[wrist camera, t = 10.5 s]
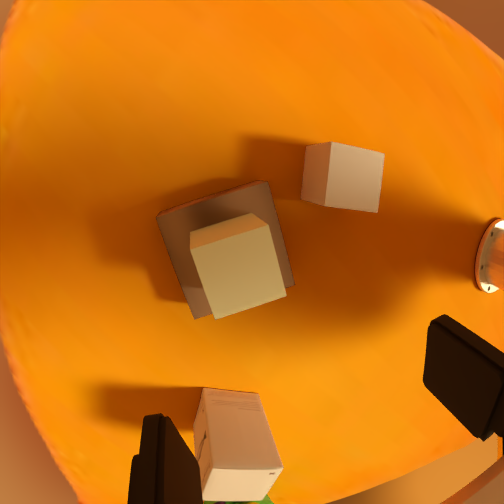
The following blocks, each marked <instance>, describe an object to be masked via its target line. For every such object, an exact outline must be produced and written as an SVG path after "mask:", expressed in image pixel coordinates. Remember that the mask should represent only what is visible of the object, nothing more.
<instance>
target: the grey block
mask: <svg viewBox="0 0 504 504" xmlns="http://www.w3.org/2000/svg"><path fill="white" fill-rule="evenodd" d="M383 165H384V153H380V152H376V151H372V150H367V149H363V148H359V147H354V146H350V145H345V144H341V143H336V142H326V143H320V144H314V145H308V146H306V152H305V162H304V171H303V180H302V189H301V198H300V199H301V200H305V201H308V202H312V203H315V204H319V205H322V206H327V207H335V208H344V209H352V210H359V211H367V212H374V213H378V207H379V199H380V191H381V183H382V174H383Z"/></svg>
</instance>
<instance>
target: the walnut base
mask: <svg viewBox="0 0 504 504" xmlns="http://www.w3.org/2000/svg"><path fill="white" fill-rule="evenodd" d="M249 213H253V214H254V215H255V216H257V217H258V218H260V219H261V220H262V221H264V222H265V223H267V224H268V225H269V229H270V233H271V236H272V240H273V244H274V248H275V252H276V256H277V260H278V264H279V267H280V271H281V275H282V279H283V283H284V287H285V288H288V287H291V286H293V285H295V282H294V278H293V274H292V270H291V266H290V262H289V259H288V255H287V251H286V247H285V243H284V239H283V235H282V232H281V228H280V224H279V220H278V217H277V213H276V209H275V206H274V202H273V198H272V195H271V191H270V187H269V184H268V182H267V181H261V180H258V181H255V182H251V183H248V184H245V185H241V186H238V187H235V188H232V189H228V190H225V191H222V192H219V193H216V194H213V195H209V196H206V197H203V198H200V199H197V200H194V201H191V202H188V203H185V204H182V205H179V206H176V207H173V208H171V209H168V210H165V211H162V212H160V213H159V214H158V216H157V217H156V219H157V222H158V225H159V228H160V231H161V234H162V237H163V239H164V242H165V245H166V248H167V250H168V253H169V256H170V259H171V261H172V264H173V267H174V269H175V272H176V274H177V277H178V280H179V282H180V285H181V287H182V290H183V292H184V295H185V297H186V300H187V302H188V305H189V307H190V310H191V312H192V315H193V317H194V319H197V318H200V317H203V316H207V315H210V314H213V313H212V310H211V307H210V305H209V302H208V299H207V297H206V294H205V291H204V288H203V285H202V283H201V280H200V277H199V274H198V271H197V268H196V265H195V263H194V260H193V257H192V254H191V251H190V232H192V231H195V230H198V229H201V228H204V227H207V226H210V225H214V224H217V223H220V222H223V221H226V220H229V219H233V218H236V217H239V216H242V215H246V214H249Z"/></svg>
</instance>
